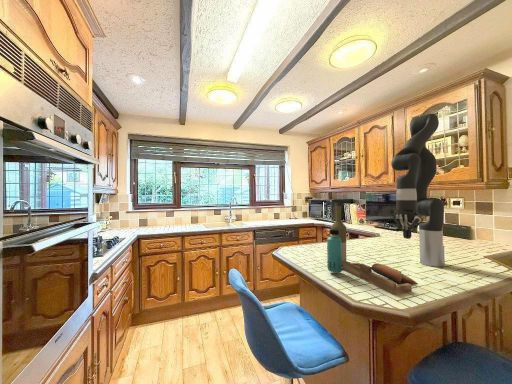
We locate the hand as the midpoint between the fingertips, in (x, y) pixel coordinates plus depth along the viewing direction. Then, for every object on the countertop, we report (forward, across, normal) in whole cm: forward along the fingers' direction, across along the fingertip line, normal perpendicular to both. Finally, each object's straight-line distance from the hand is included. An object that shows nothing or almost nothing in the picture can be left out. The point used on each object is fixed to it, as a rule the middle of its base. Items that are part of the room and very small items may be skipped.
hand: (407, 238), depth 96 cm
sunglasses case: (+17, 0, +8) cm, 19 cm away
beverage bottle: (+16, +10, +30) cm, 35 cm away
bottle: (+16, +18, +22) cm, 33 cm away
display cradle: (+16, 0, +19) cm, 25 cm away
